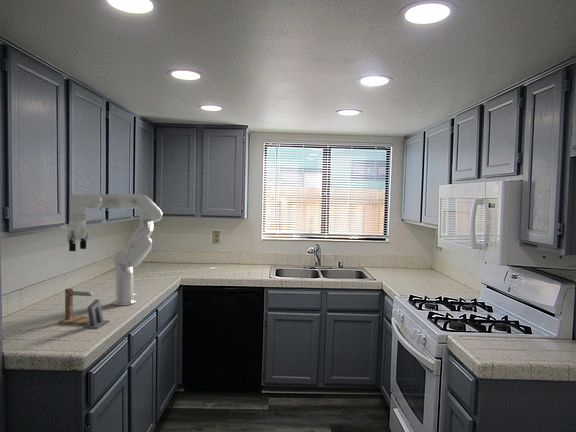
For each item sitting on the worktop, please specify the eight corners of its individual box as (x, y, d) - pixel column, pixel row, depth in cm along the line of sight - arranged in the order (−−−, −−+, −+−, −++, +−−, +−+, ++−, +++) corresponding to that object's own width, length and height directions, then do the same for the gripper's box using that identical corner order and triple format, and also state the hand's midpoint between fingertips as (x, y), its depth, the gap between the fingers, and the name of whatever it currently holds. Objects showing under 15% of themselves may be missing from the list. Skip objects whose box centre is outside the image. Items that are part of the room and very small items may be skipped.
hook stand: (58, 323, 204) (58, 291, 203) (71, 318, 214) (71, 286, 213) (86, 325, 203) (86, 292, 202) (97, 319, 213) (97, 287, 212)
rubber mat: (95, 320, 210) (95, 319, 210) (109, 321, 209) (109, 320, 209) (82, 327, 199) (82, 326, 199) (97, 328, 198) (97, 327, 198)
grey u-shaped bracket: (98, 319, 208) (95, 299, 205) (103, 319, 208) (99, 299, 205) (90, 328, 201) (87, 307, 198) (95, 328, 201) (91, 307, 197)
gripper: (80, 216, 232) (80, 247, 233) (60, 218, 215) (61, 251, 216) (93, 217, 231) (93, 248, 232) (75, 218, 214) (75, 252, 215)
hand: (77, 249), depth 224 cm, fingers open, 9 cm apart
